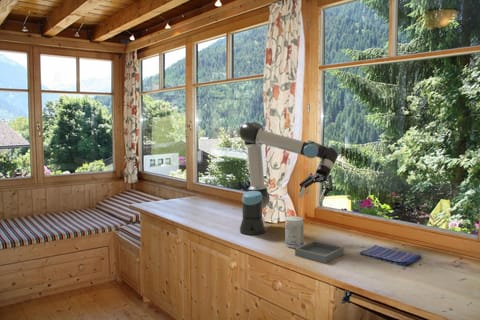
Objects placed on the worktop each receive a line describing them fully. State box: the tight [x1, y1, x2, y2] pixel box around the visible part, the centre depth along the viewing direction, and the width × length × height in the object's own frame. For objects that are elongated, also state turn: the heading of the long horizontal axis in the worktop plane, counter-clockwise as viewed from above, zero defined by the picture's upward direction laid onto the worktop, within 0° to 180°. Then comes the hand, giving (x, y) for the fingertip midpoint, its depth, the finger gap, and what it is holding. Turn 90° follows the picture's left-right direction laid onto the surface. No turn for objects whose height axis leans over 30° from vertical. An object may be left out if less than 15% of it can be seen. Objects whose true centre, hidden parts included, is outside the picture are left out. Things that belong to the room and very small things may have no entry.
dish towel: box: [359, 244, 422, 268], centre depth 189 cm, size 17×24×3 cm
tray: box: [294, 240, 345, 264], centre depth 193 cm, size 17×17×3 cm
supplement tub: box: [284, 215, 305, 249], centre depth 206 cm, size 10×10×15 cm
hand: (310, 198), depth 214 cm, fingers open, 13 cm apart
